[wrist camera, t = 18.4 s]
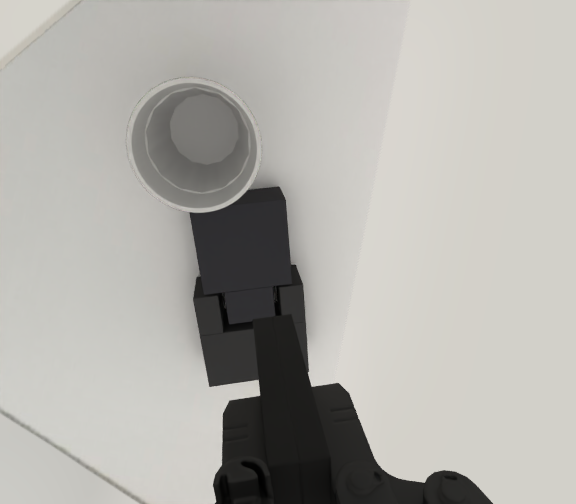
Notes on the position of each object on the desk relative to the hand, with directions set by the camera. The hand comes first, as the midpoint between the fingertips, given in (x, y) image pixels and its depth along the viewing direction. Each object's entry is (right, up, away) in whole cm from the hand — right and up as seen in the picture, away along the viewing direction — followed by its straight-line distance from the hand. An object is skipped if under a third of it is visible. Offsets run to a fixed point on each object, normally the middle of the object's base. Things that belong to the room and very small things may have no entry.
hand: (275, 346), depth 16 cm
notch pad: (-3, -3, +27) cm, 28 cm away
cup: (-7, +14, +20) cm, 26 cm away
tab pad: (-4, +4, +24) cm, 25 cm away
